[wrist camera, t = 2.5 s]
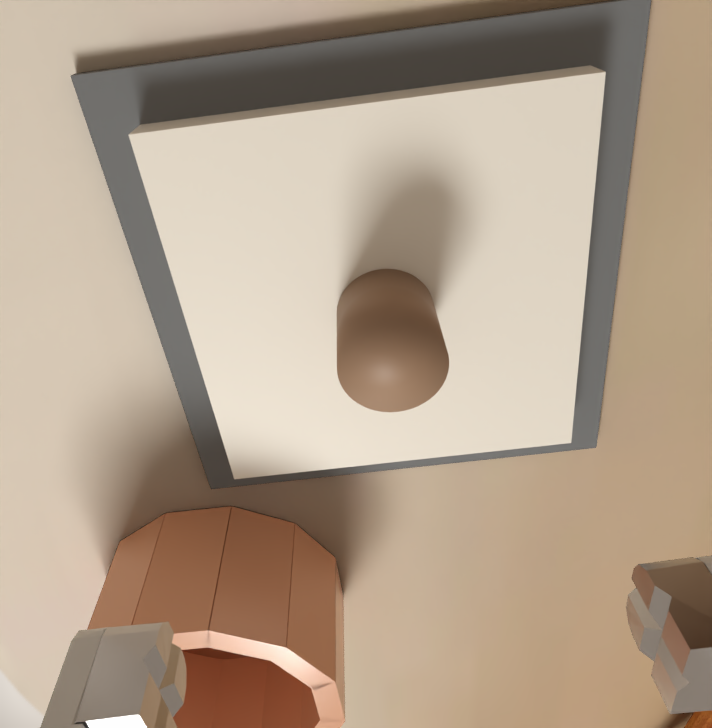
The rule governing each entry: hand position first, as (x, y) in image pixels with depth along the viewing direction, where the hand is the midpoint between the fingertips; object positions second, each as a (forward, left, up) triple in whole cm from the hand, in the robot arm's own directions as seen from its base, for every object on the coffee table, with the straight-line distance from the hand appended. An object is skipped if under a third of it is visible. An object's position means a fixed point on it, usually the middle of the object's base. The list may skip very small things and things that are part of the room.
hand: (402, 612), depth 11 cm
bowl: (+9, +15, -13) cm, 22 cm away
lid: (0, 0, -12) cm, 12 cm away
